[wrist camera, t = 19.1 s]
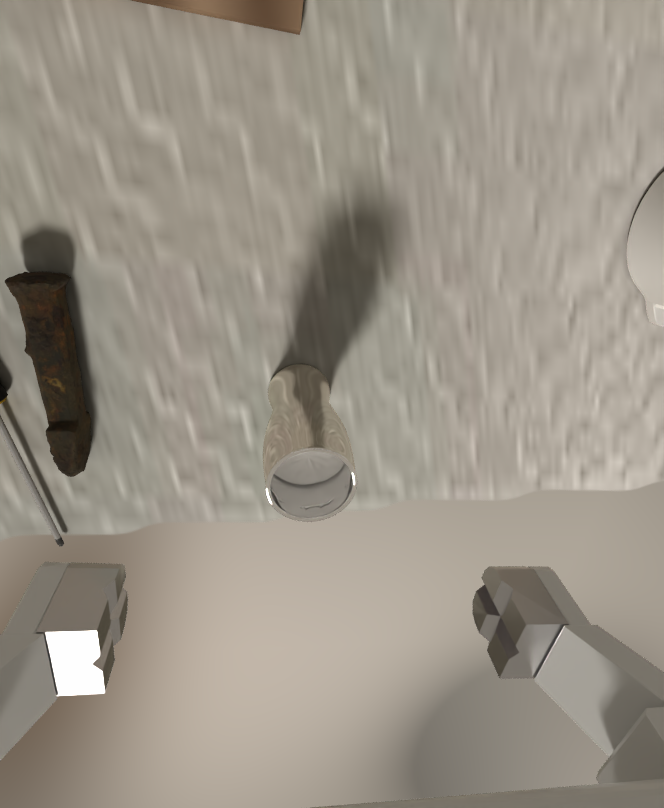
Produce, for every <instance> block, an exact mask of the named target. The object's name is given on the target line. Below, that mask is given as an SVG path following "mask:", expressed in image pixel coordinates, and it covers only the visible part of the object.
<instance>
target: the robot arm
mask: <svg viewBox="0 0 664 808" xmlns="http://www.w3.org/2000/svg"><path fill="white" fill-rule="evenodd" d="M627 263H628V269H629V272H630V275H631V278H632V280H633V282H634V283H635V285H636V286H637V288H638V289H639V290H640V292H641V293H642V294H643V296H644V298H645V301H646V311H647V316H648V319H649V321H650V322H651V323H652V324H655V325H658V326H664V172H663V173H662V174H661V175H660V176H659V177H658V178H657V179H656V181H655V182H654V183H653V184H652V186H651V187H650V189H649V190H648V192H647V193H646V195H645V196H644V198H643V200H642V201H641V203H640V205H639V207H638V209H637V211H636V214H635V216H634V219H633V221H632V225H631V228H630V232H629V236H628V242H627ZM125 578H126V572H125V566H124V565H123V564H105V563H104V564H102V563H74V562H72V563H62V562H61V563H60V562H45V563H43V564H42V566H40V567H39V568H38V570H37V571H36V573H35V575H34V577H33V579H32V580H31V582H30V584H29V586H28V588H27V590H26V591H25V593H24V595H23V597H22V599H21V600H20V602H19V604H18V606H17V608H16V610H15V611H14V613H13V615H12V617H11V619H10V621H9V622H8V624H7V626H6V628H5V630H4V631H3V633H2V634H0V760H1V759H2V758H3V757H4V756H5V755H6V754H7V753H8V752H9V751H10V750H11V748H12V747H13V746H14V745H15V744H16V743H17V742H18V741H19V740H20V739H21V738H22V736H23V735H24V734H25V733H26V732H27V731H28V730H29V729H30V728H31V727H32V725H34V723H35V722H36V721H37V720H38V719H39V718H40V717H41V716H42V715H43V713H45V711H46V710H47V709H48V708H49V707H50V706H51V705H52V704H53V703H54V701H56V700H57V696H64V695H79V694H95V693H105V690H106V687H107V684H108V681H109V677H110V674H111V671H112V667H113V664H114V661H115V658H114V647H113V646H114V645H115V644H116V643H117V642H118V641H120V640H121V637H122V634H123V630H124V626H125V621H126V615H127V606H128V597H127V591H126V590H125V589H124V588H123V584H124V581H125ZM482 580H483V582H484V584H485V585H484V586H482V587H481V588H480V589H479V590H477V591H476V593H475V596H474V599H473V616H474V621H475V624H476V626H477V629H478V631H479V633H480V634H481V635H483V636H484V637H485V638H486V639H487V640H488V641H489V645H488V649H487V651H488V653H489V656H490V658H491V661H492V663H493V665H494V667H495V670H496V672H497V674H498V676H499V678H535V680H534V681H535V682H536V683H537V684H538V685H539V686H540V687H541V688H542V689H543V690H544V691H545V692H546V693H547V694H548V695H549V696H550V697H551V698H552V699H553V700H554V701H555V702H556V703H557V704H558V705H559V706H560V707H561V708H562V709H563V711H565V713H566V714H567V715H568V716H569V717H571V719H572V720H574V722H575V723H576V724H577V725H578V726H579V727H580V728H581V729H582V730H583V731H584V732H585V733H586V734H587V735H588V736H589V737H590V738H591V739H592V740H593V741H594V742H595V743H596V744H597V745H598V746H599V747H600V748H601V749H602V750H603V751H604V752H605V753H606V754H607V756H608V757H609V758H608V760H607V761H606V762H605V763H604V765H603V766H602V767H601V769H600V770H599V771H598V774H597V777H596V779H597V781H598V783H599V784H594V785H582V786H569V787H558V788H546V789H532V790H520V791H508V792H496V793H483V794H471V795H459V796H447V797H434V798H423V799H411V800H398V801H385V802H373V803H361V804H349V805H337V806H325V807H312V808H664V672H663V671H661V670H660V669H659V668H657V667H656V666H654V665H653V664H652V663H650V662H649V661H647V660H646V659H644V658H643V657H642V656H640V655H639V654H637V653H636V652H634V651H633V650H632V649H630V648H629V647H627V646H626V645H625V644H623V643H622V642H620V641H619V640H618V639H616V638H615V637H613V636H612V635H610V634H609V633H608V632H606V631H605V630H603V629H602V628H600V627H599V626H598V625H591V624H590V623H589V621H588V620H587V618H586V617H585V615H584V614H583V612H582V611H581V610H580V608H579V607H578V605H577V604H576V602H575V601H574V600H573V598H572V597H571V595H570V594H569V593H568V591H567V589H566V588H565V586H564V585H563V583H562V582H561V581H560V579H559V578H558V576H557V575H556V573H555V572H554V571H553V570H552V569H551V568H549V567H525V566H522V567H520V566H515V567H514V566H512V567H511V566H508V567H507V566H506V567H488V568H487V569H486V570H485V571H484V574H483V576H482Z"/></svg>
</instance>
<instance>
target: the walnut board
mask: <svg viewBox="0 0 664 808" xmlns="http://www.w3.org/2000/svg"><path fill="white" fill-rule="evenodd" d="M132 1H137V2H142V3H147V4H151V5H156V6H161V7H166V8H171V9H176V10H181V11H186V12H191V13H196V14H200V15H205V16H210V17H215V18H220V19H225V20H230V21H235V22H240V23H245V24H250V25H254V26H259V27H264V28H269V29H274V30H279V31H284V32H289V33H294V34H299V35H300V31H301V21H302V9H303V0H132Z"/></svg>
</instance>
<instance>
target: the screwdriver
mask: <svg viewBox="0 0 664 808" xmlns="http://www.w3.org/2000/svg"><path fill="white" fill-rule="evenodd" d="M7 395H8V394H7V392H6V391H5V389H4V388H3V386H2V385H1V384H0V404H1V403H2V402H4V401H5V400H6V398H7ZM0 433H1V435H2V437H3V439H4V440H5V442H6V444H7V446H8V448H9V450H10V452H11V454H12V456H13V458H14V460H15V462H16V464H17V466H18V468H19V470H20V472H21V474H22V476H23V478H24V480H25V482H26V484H27V485H28V487H29V489H30V491H31V493H32V495H33V497H34V499H35V501H36V503H37V505H38V507H39V509H40V511H41V513H42V515H43V517H44V519H45V521H46V523H47V525H48V527H49V529H50V531H51V532H52V534H53V536H54V538H55V540H56V542H57V544H58V545H59V546H63V544H64V542H63V540H62V538H61V536H60V534H59V532H58V530H57V528H56V526H55V524H54V522H53V520H52V518H51V516H50V514H49V512H48V510H47V508H46V506H45V504H44V502H43V500H42V498H41V496H40V494H39V492H38V490H37V488H36V486H35V484H34V482H33V480H32V478H31V476H30V474H29V472H28V470H27V468H26V466H25V464H24V462H23V460H22V458H21V456H20V454H19V452H18V450H17V448H16V446H15V444H14V442H13V440H12V438H11V436H10V434H9V432H8V430H7V428H6V426H5V424H4V422H3V420H2V418H1V416H0Z"/></svg>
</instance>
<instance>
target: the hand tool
mask: <svg viewBox="0 0 664 808" xmlns="http://www.w3.org/2000/svg"><path fill="white" fill-rule="evenodd" d="M70 279H71V277H69V276H68V275H66V274H63V273H52V272H30V273H28V272H24V273H22V274H17V275H15V276H13V277H9V278H7V279H6V280H5V283H6V285H7V287H9V289H10V292H11V293H12V295H13V296H14V297H15V298H16V300H17V302H18V304H19V308H20V312H21V316H22V320H23V323H24V327H25V331H26V348H25V352H26V353H27V354H28V355H29V356H30V357H31V358H32V360H33V365H34V367H35V371H36V375H37V380H38V384H39V388H40V392H41V396H42V400H43V403H44V406H45V410H46V414H47V419H48V424H49V427H48V428H47V430H46V436H47V441H48V442H49V444H50V452H51V454H52V455H53V456H54V457H53V460H54V462H55V463H56V465H57V467H58V469H59V470H60V471H61V472H62V473H64V474H65V475H67V476H70V477H73V476H76V475H77V474H79V473H80V472H82V471H84V470H85V467H86V463H87V460H88V456H89V452H90V441H91V435H90V429H91V418H90V414H89V412H87V411H86V409H85V403H84V396H83V389H82V384H81V373H80V369H79V366H78V360H77V354H76V345H75V338H74V329H73V327H72V324H71V318H70V316H69V310H68V305H67V299H66V291H65V290H66V284H67V282H68V281H69V280H70Z"/></svg>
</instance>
